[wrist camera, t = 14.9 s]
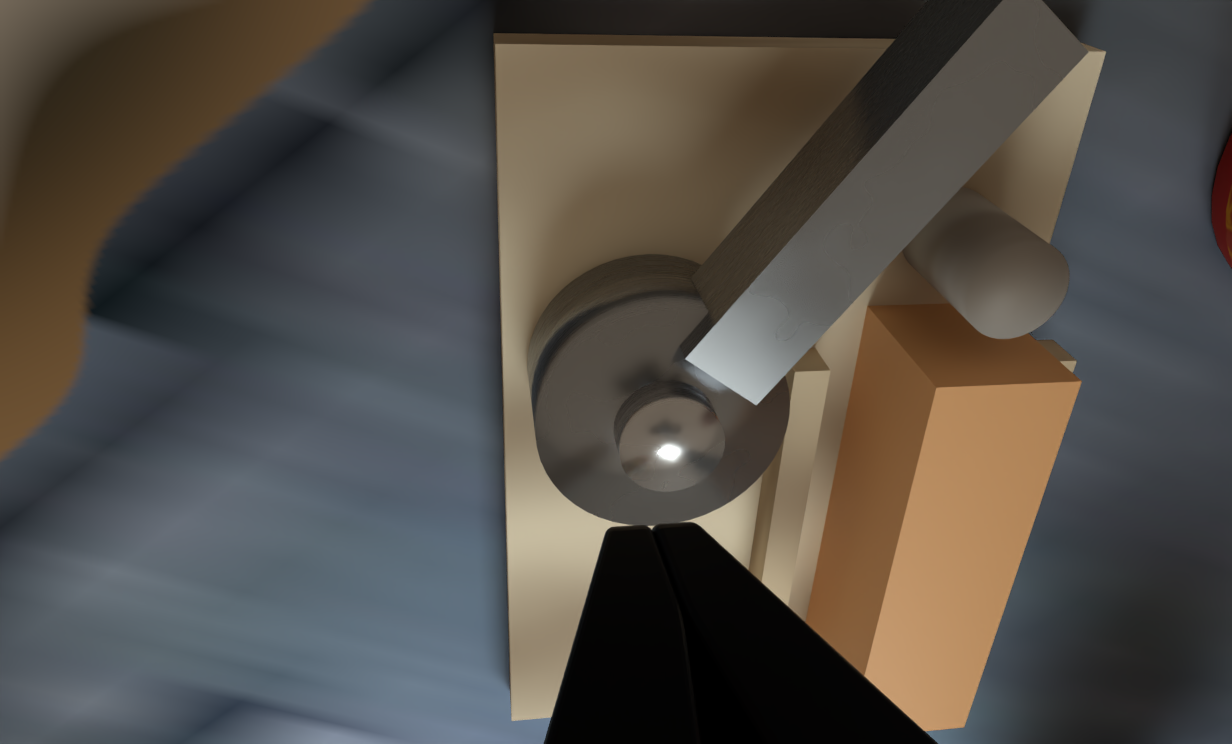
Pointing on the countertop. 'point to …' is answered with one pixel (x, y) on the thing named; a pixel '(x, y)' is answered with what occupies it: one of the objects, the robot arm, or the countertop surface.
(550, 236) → the tool board
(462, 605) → the countertop surface
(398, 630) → the countertop surface
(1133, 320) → the countertop surface
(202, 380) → the countertop surface
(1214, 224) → the canned food
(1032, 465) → the orange rectangular bar
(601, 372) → the crank handle
